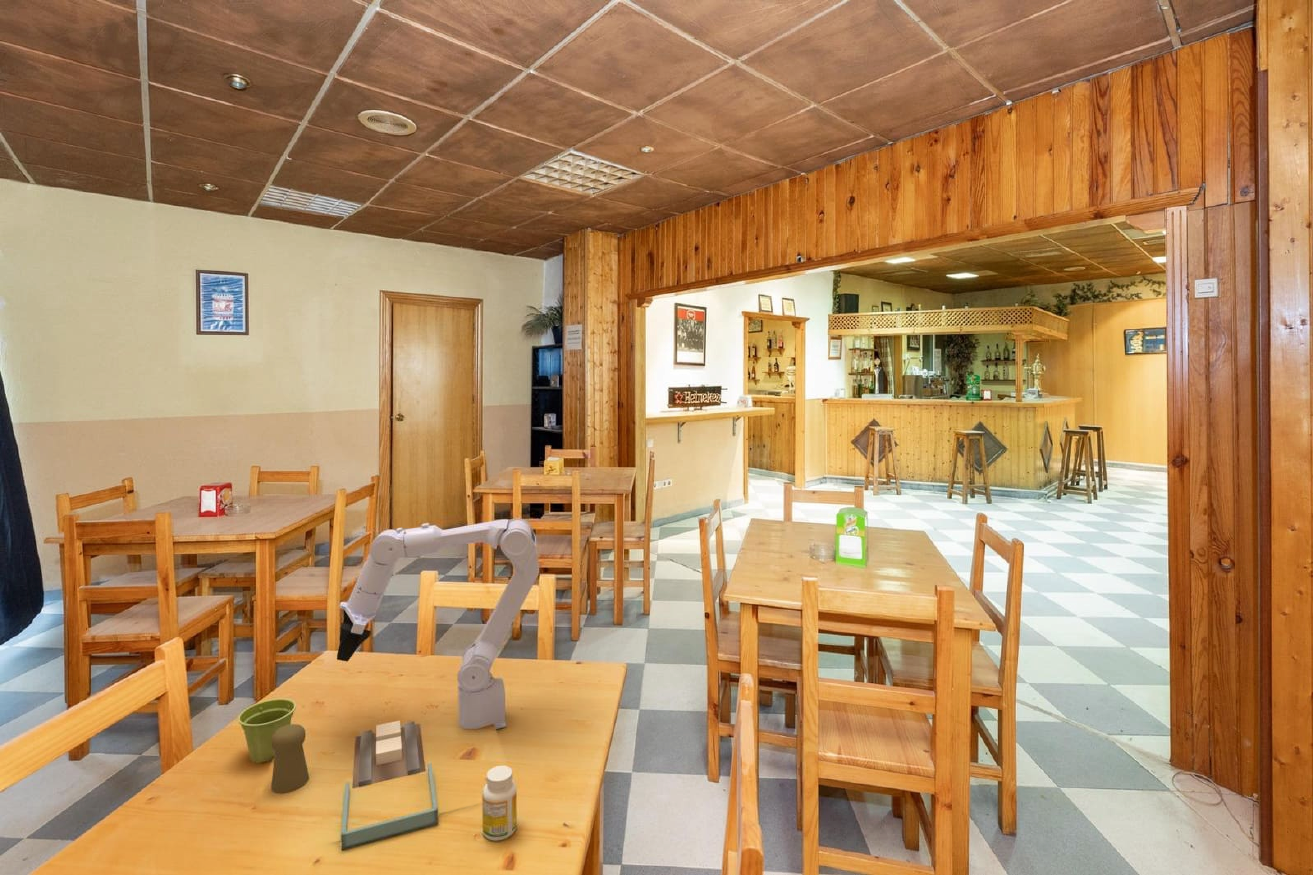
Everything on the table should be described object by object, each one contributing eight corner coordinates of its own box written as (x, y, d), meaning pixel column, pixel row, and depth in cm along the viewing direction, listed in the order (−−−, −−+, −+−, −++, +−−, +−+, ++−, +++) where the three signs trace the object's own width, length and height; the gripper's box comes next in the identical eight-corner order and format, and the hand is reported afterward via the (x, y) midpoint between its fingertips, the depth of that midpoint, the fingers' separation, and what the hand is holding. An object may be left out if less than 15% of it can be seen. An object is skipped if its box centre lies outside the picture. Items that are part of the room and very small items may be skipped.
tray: (431, 776, 111) (431, 763, 111) (438, 824, 99) (437, 809, 99) (345, 796, 106) (345, 782, 105) (341, 850, 94) (341, 835, 93)
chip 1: (400, 730, 124) (400, 720, 124) (400, 742, 120) (400, 731, 120) (376, 735, 122) (376, 725, 122) (376, 747, 118) (376, 737, 118)
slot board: (420, 728, 127) (419, 719, 127) (425, 776, 111) (425, 766, 111) (355, 741, 122) (355, 732, 122) (352, 793, 106) (352, 783, 106)
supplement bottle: (495, 847, 95) (494, 788, 94) (475, 830, 98) (474, 774, 97) (523, 828, 99) (523, 772, 98) (503, 813, 102) (503, 758, 101)
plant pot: (308, 747, 120) (306, 705, 119) (260, 775, 111) (258, 729, 111) (277, 735, 124) (276, 694, 123) (228, 761, 115) (226, 717, 114)
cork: (292, 801, 104) (289, 740, 103) (261, 796, 105) (259, 736, 104) (318, 779, 110) (315, 721, 109) (289, 775, 111) (286, 717, 110)
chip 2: (401, 747, 119) (400, 736, 118) (402, 759, 115) (401, 748, 114) (376, 752, 117) (376, 741, 117) (376, 765, 113) (375, 754, 113)
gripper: (351, 569, 127) (325, 629, 127) (347, 598, 114) (318, 664, 114) (385, 578, 130) (360, 636, 130) (385, 606, 117) (357, 671, 117)
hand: (343, 650), depth 122 cm, fingers open, 7 cm apart
